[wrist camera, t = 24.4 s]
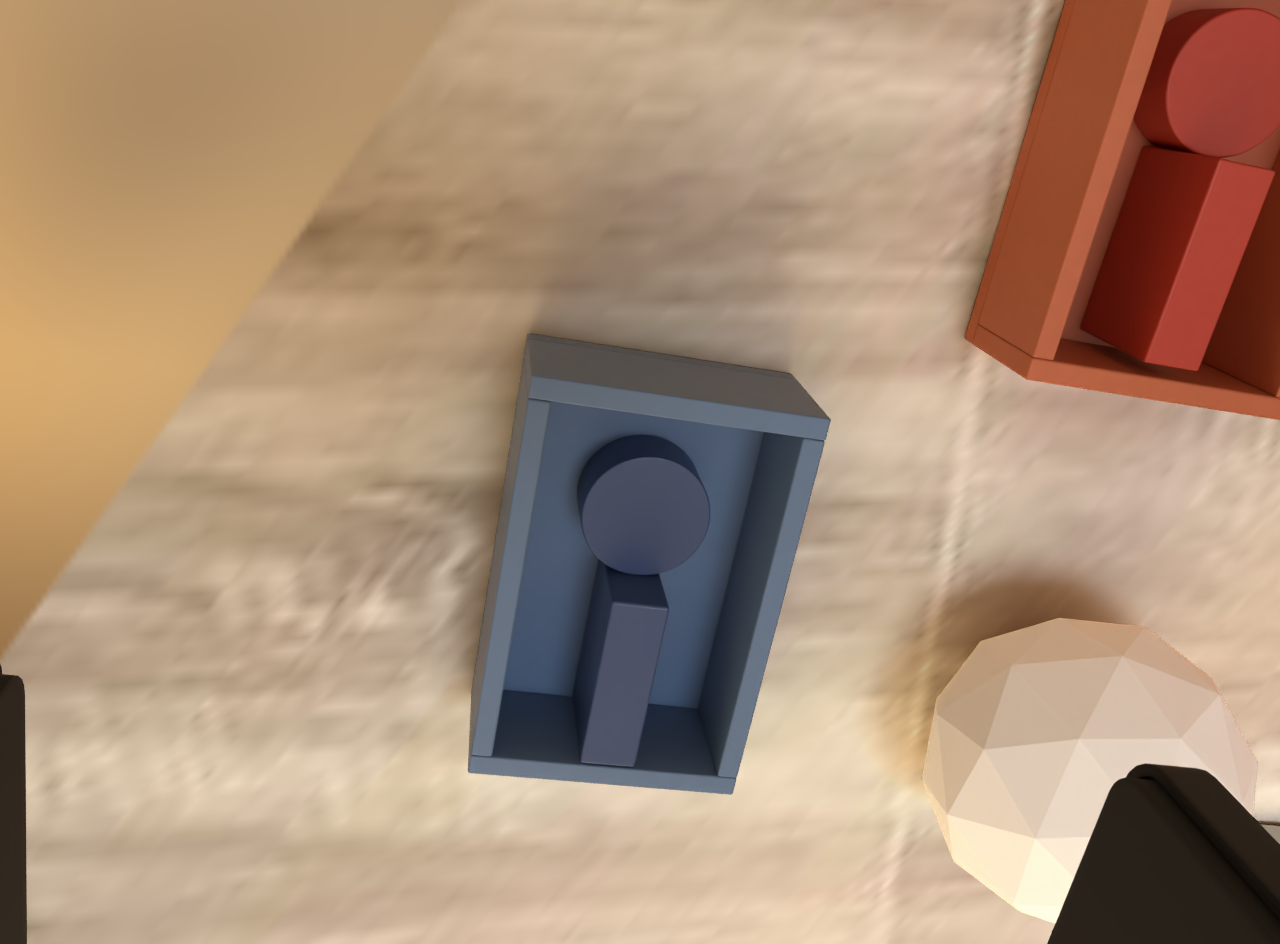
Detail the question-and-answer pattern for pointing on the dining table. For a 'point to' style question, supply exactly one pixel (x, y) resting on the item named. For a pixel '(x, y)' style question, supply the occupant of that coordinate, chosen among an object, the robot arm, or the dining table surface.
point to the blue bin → (695, 590)
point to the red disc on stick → (1190, 186)
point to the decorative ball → (1065, 747)
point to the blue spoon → (630, 583)
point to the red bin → (1086, 217)
